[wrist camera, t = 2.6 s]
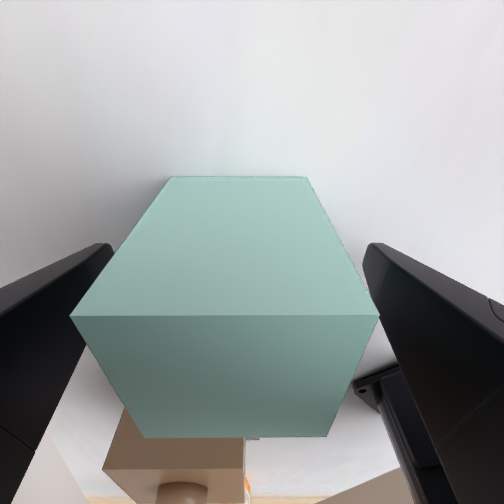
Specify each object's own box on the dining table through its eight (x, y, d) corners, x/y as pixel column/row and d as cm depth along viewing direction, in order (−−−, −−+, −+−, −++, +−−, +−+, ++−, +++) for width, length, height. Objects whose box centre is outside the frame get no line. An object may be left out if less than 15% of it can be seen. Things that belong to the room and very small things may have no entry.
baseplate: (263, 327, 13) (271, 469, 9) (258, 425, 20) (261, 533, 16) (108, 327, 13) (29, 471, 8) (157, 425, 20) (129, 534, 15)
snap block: (306, 176, 9) (380, 315, 4) (293, 279, 11) (326, 436, 6) (170, 176, 9) (69, 315, 4) (189, 279, 11) (144, 438, 6)
